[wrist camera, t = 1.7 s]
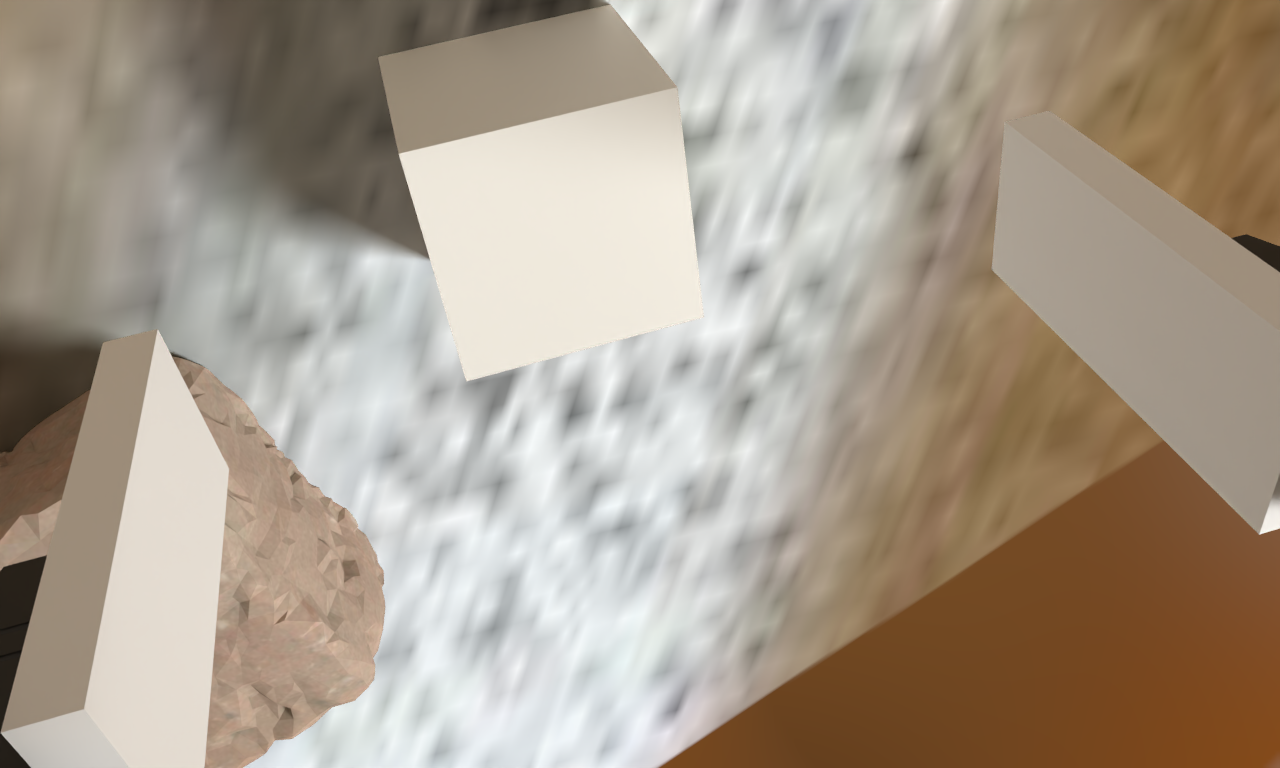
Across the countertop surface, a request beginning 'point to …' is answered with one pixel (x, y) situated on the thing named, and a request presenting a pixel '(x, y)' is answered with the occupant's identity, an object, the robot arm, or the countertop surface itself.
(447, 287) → the beige cube
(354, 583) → the brick
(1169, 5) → the countertop surface
